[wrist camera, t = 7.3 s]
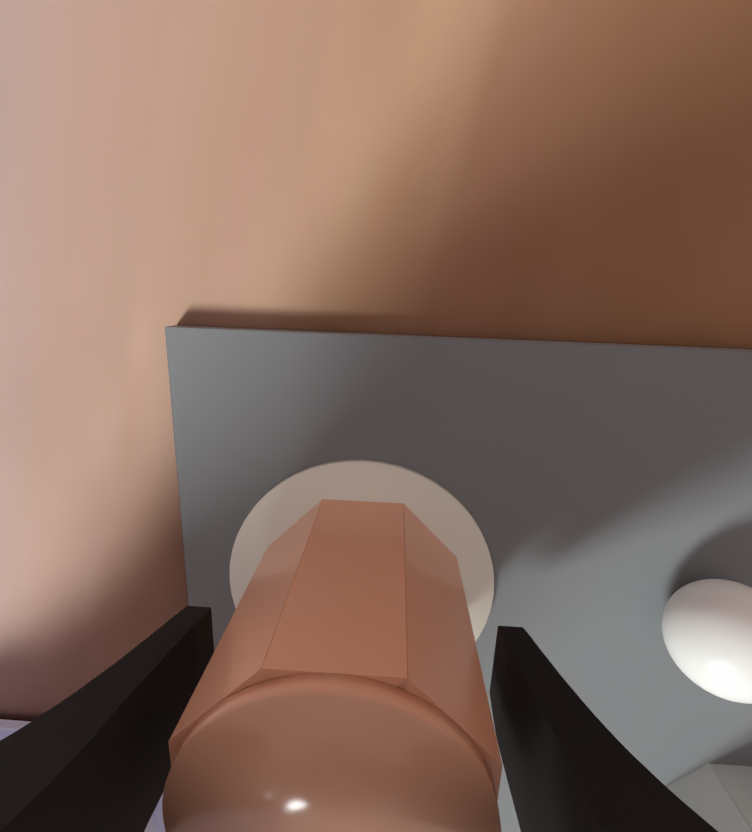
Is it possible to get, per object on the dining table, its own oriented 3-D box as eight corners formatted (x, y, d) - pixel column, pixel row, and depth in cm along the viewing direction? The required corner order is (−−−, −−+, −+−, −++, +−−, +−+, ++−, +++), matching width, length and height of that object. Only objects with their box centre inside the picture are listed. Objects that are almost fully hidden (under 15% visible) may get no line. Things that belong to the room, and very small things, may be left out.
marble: (632, 639, 14) (692, 728, 11) (651, 554, 13) (721, 626, 11) (731, 646, 14) (818, 737, 11) (757, 560, 13) (856, 635, 10)
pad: (238, 677, 15) (235, 685, 15) (226, 452, 13) (222, 456, 13) (478, 694, 15) (480, 702, 15) (506, 466, 13) (508, 470, 13)
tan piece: (271, 656, 15) (176, 928, 8) (265, 495, 13) (146, 682, 7) (446, 668, 14) (483, 956, 8) (461, 506, 13) (520, 708, 7)
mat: (215, 836, 18) (209, 854, 18) (175, 325, 13) (164, 326, 12) (785, 883, 17) (798, 903, 17) (992, 358, 12) (1022, 362, 12)
